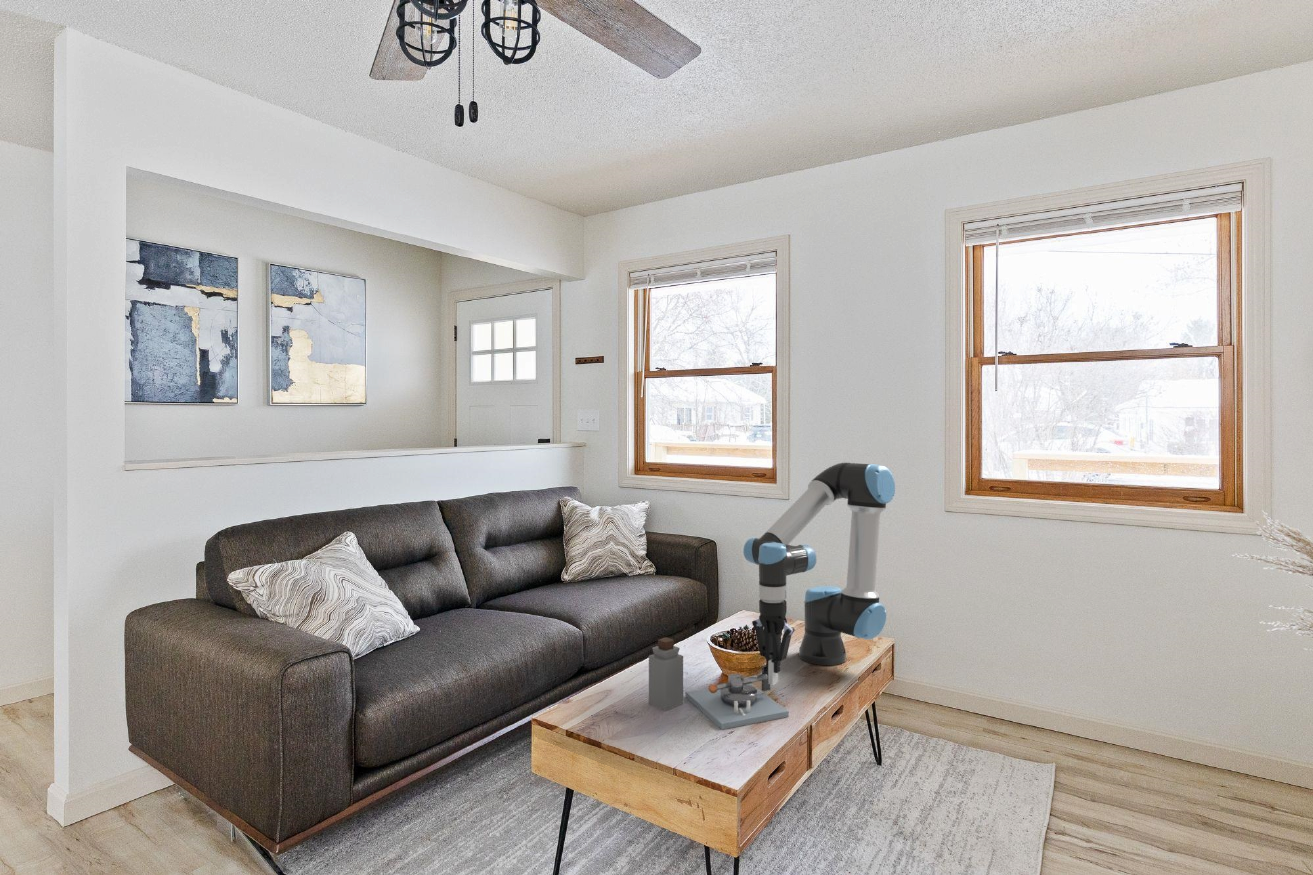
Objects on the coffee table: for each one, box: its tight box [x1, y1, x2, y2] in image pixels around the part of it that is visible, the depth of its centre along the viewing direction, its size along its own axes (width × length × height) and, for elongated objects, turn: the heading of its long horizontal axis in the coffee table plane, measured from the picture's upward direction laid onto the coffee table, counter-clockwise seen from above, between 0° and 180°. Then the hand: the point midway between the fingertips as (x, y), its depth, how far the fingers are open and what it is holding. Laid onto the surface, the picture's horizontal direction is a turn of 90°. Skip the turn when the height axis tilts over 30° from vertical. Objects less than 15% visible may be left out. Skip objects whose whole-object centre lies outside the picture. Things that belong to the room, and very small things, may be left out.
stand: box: [685, 683, 790, 730], centre depth 193 cm, size 20×22×4 cm
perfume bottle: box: [648, 636, 684, 712], centre depth 195 cm, size 7×7×18 cm
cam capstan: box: [708, 664, 771, 706], centre depth 194 cm, size 20×10×7 cm, turn 119°
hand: (773, 682), depth 196 cm, fingers closed
